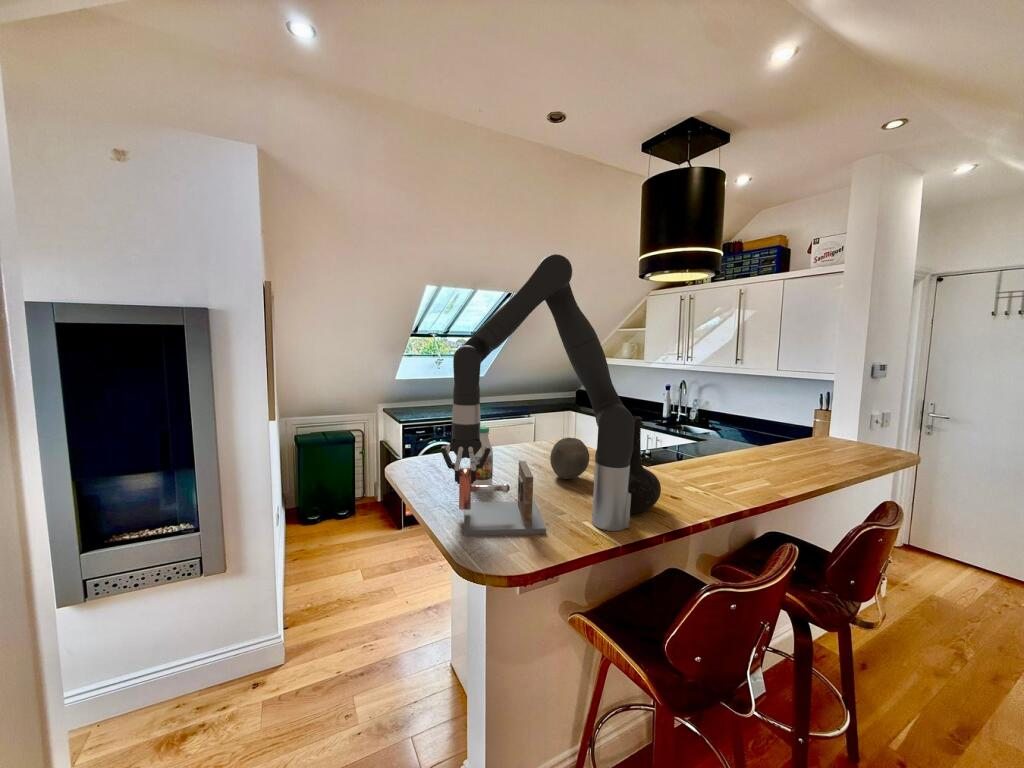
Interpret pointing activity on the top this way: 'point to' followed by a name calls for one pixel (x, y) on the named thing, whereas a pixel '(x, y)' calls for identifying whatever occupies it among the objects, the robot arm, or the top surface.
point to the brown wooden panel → (525, 492)
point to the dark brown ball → (569, 458)
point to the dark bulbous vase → (641, 477)
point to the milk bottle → (486, 472)
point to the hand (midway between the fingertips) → (465, 482)
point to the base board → (500, 519)
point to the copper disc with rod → (473, 488)
